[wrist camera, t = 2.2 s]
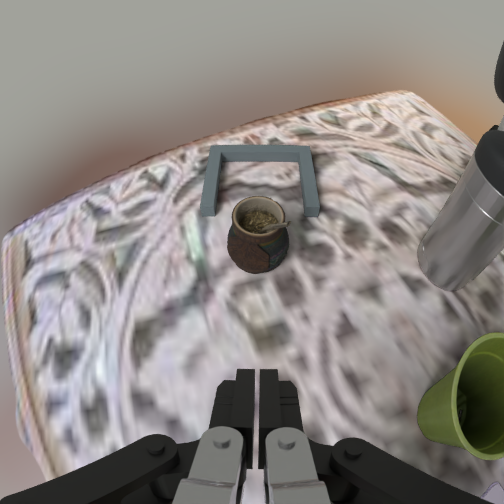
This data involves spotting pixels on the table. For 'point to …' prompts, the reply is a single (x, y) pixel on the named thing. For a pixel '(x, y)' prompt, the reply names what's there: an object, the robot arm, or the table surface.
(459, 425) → the plant pot
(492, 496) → the mobile phone
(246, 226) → the mate gourd
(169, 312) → the table surface
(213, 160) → the frame
